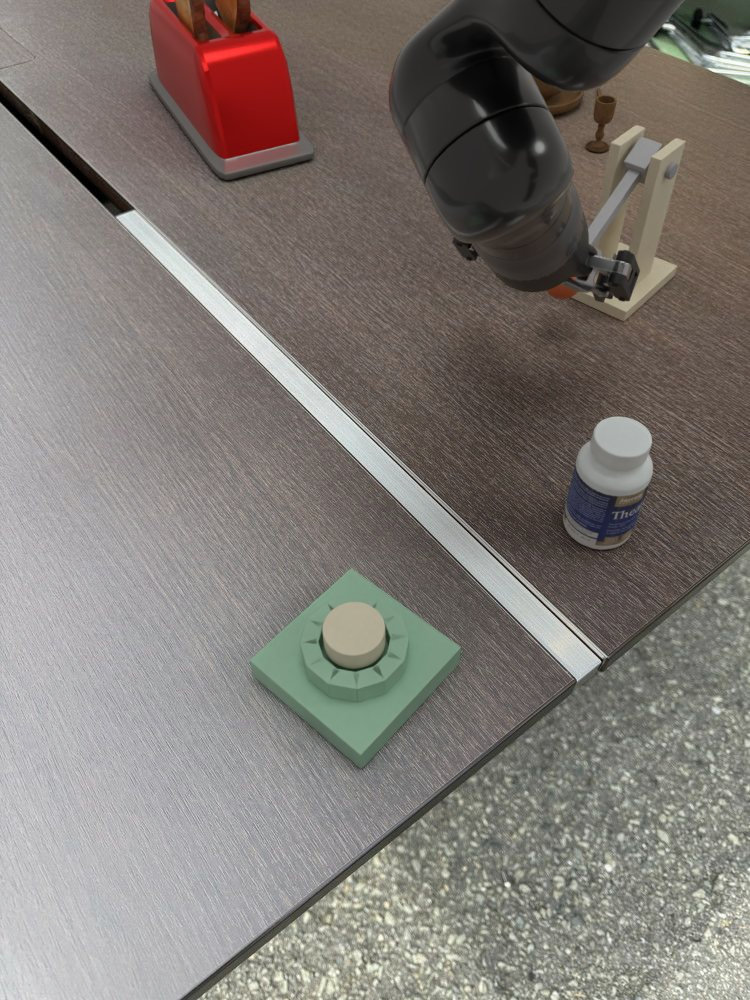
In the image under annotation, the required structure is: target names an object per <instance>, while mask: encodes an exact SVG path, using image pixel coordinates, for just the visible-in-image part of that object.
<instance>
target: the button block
mask: <svg viewBox="0 0 750 1000" xmlns="http://www.w3.org/2000/svg"><path fill="white" fill-rule="evenodd" d="M348 602H361V603H365V604H368V605H370V606H372V607H373V608H375V609H376V610H377V611H378V612H379V613H380V614H381V616H382V618H383V620H384V623H385V648H384V651H383V653H382V654H381V656H380V657H379V658H378V659H377V660H376V661H375V662H374V663H372V664H371V665H369V666H366V667H363V668H358V669H349V668H344V667H342V666H339V665H337V664H336V663H334V662H333V661H332V660H331V659H330V658H329V657H328V655H327V653H326V651H325V648H324V641H323V632H322V627H323V623H324V620H325V618H326V616H327V615H328V614H329V613H330V612H331V611H332V610H333V609H334V608H335V607H337V606H339V605H341V604H344V603H348ZM461 651H462V646H460V645H458V643H456V642H454V641H453V640H452V639H450V638H449V637H448V636H446V635H445V634H444V633H442V632H441V631H440V630H438V629H436V628H435V627H434V626H432V625H431V624H430V623H428V622H427V621H426V620H424V619H423V618H422V617H420V616H419V615H417V614H416V613H414V611H412V610H410V609H409V608H408V607H407V606H404V605H403V604H402V603H401V602H400V601H398V600H396V599H395V598H394V597H392V596H391V594H388V593H387V592H386V591H384V590H383V589H381V588H380V587H379V586H377V585H376V584H374V583H373V582H372V581H371V580H369V579H368V578H367V577H365V576H363V575H362V574H360V573H359V572H358V571H356V570H355V569H354V568H352V567H350V568H349V569H348V570H347V571H346V572H344V574H343V575H342V576H341V577H339V578H338V579H337V580H336V581H335V582H334V583H333V584H332V585H330V586H329V587H328V588H327V589H326V590H325V591H324V592H323V593H322V594H321V595H319V596H318V597H317V598H316V599H315V600H314V601H313V602H312V603H311V604H310V605H308V606H307V607H306V608H305V609H303V611H302V612H301V613H299V614H298V615H297V616H296V617H295V618H294V619H293V620H291V621H290V623H288V624H287V625H286V626H285V627H284V628H283V629H282V630H281V631H280V632H278V633H277V634H276V635H275V636H274V637H273V638H272V639H270V641H268V642H267V643H266V644H265V645H264V646H263V647H262V648H261V649H260V650H259V651H258V652H256V653H255V654H254V655H253V656H252V657H251V658H250V659H249V660H248V662H249V665H250V668H251V669H250V670H251V673H252V676H253V678H255V679H256V680H257V681H258V682H259V683H260V684H262V685H263V686H264V687H265V688H266V689H267V690H268V691H270V692H271V694H273V695H274V696H275V697H276V698H277V699H279V700H280V701H281V702H282V703H284V704H285V705H286V706H287V707H288V708H289V709H291V710H292V711H293V712H294V713H295V714H296V715H297V716H299V717H300V718H301V719H302V720H303V721H304V722H306V723H307V724H308V725H309V726H310V727H311V728H313V729H314V730H315V731H316V732H317V733H318V734H320V735H321V736H322V737H323V738H324V739H325V740H326V741H328V742H329V743H330V744H331V745H332V746H334V747H335V748H336V749H337V750H338V751H339V752H341V754H343V755H344V756H345V757H346V758H347V759H349V760H350V761H351V762H352V763H353V764H355V765H356V766H357V767H358V768H359V769H361V770H363V769H364V768H365V767H366V765H367V764H369V762H370V761H371V760H372V759H373V758H374V757H375V756H376V755H377V754H378V753H379V751H380V750H381V749H382V748H383V747H384V746H385V745H386V744H387V742H389V741H390V739H391V738H392V737H393V736H394V735H395V734H396V733H397V732H398V731H399V729H401V728H402V727H403V726H404V725H405V724H406V722H408V720H409V719H410V718H411V717H412V716H413V714H414V713H415V712H416V711H417V710H418V709H419V708H420V707H421V706H422V705H423V704H424V703H425V702H426V700H428V698H430V696H431V695H432V694H433V693H434V692H435V691H436V690H437V689H438V687H440V685H441V684H442V683H443V682H444V681H445V680H446V679H447V678H448V677H449V676H450V675H451V673H453V671H454V670H455V669H456V668H457V667H458V666H459V665H460V659H461V654H462V653H461Z"/></svg>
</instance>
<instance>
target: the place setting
mask: <svg viewBox="0 0 750 1000" xmlns="http://www.w3.org/2000/svg"><path fill="white" fill-rule="evenodd" d="M532 76H533V75H532ZM533 78H534V80H535V82H536V84H537V86H538V88H539V90H540V92H541V94H542V96H543V98H544V100H545V102H546V104H547V106H548V108H549V110H550V113H551V114H552V116H553V117H554V116H558V115H561V114H564V113H568V112H570V111H571V110H573V109H575V108H576V107H577V106H578V105H579V104H580V103H581V102H582V100H583V99H584V95H585V91H583V92H569V91H564V90H560V89H557V88H554V87H552V86H550V85H548V84H546V83H544V82H542V81H540V80H538V79H537V78H536V77H534V76H533ZM596 89H597V90H596V92H597V97H596V98H595V102H594V107H593V120H594V122H595V123H596V124H597V130H596V132H595V134H594V137H595V140H591V141H588V142H586V144H585V149H586V150H587V151H589V152H591V153H594V154H603V153H606V152H609V150H610V145H609V143H607V142H605V141H603V139H604V137H605V127H606V125H609V123H611V121H612V120H613V119H614V115H615V112H616V107H617V101H618V99H617V98H616V97H615V96H613V95H610V94H602V90H601V88H600V87H598V88H596Z"/></svg>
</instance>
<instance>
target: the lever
mask: <svg viewBox="0 0 750 1000" xmlns="http://www.w3.org/2000/svg"><path fill="white" fill-rule="evenodd" d="M663 147H664V146H663V143H661V142H658V141H655V140H652V139H650V138H646V137H644V136H643V137H640V139H639V140H638V141H637V143H636V144H635V146H634V147H633V149H632V150H631V152H630V153H629V155H628V156H627V157H626V159H625V160H624V167H625V176H624V177H623V179H622V180H621V182H620V183H619V184H618V186H617V187H616V189H615V190H614V192H613V193H612V195H611V196H610V198H609V199H608V200H607V202H606V203H605V205H604V206H603V208H602V209H601V211H600V212H599V214H598V215H597V214H596V215H597V216H596V215H595V218H594V219H593V221H592V222H591V223H590V225H589V226H588V233H589V244H590V245H592V246H595V245H596V243H597V242H598V241H599V239H600V238H601V236H602V235H603V233H604V232H605V230H606V229H607V227H608V226H609V225H610V223H611V222H612V220H613V219H614V217H615V216H616V214H617V213H618V211H619V210H620V208H621V207H622V206H623V204H624V203H625V201H626V200H627V198H628V197H629V195H630V196H631V194H632V193H633V191H634V190H635V189H636V187H637V186H638V184H642V185H644V184H645V180H646V176H647V172H648V167H649V163H650V159H651V156H653V155H654V154H655V153H657V152H658V151H659V150H661V149H662V148H663ZM629 198H630V197H629ZM570 278H572V279H574V280H576V278H577V277H570ZM545 292H546V293H547V294H548V295H550V297H552V298H555V299H559V300H566V299H570V298H571V297H572V296H574V295H575V294H577V292H576V291H573V290H571V289H569V288H567V287H565V286H563V285H561V284H560V285H558V286H556V287H554V288H552V289H549V290H546V291H545Z"/></svg>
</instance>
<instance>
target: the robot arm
mask: <svg viewBox="0 0 750 1000" xmlns="http://www.w3.org/2000/svg"><path fill="white" fill-rule="evenodd" d="M685 1H686V0H451V1H449V2H448V4H447V5H445V6H444V7H443V8H441V10H440V11H439V12H438V13H437V14H436V15H434V16H433V17H432V18H431V19H429V21H427V22H426V23H425V24H424V25H422V27H420V29H419V30H417V31H416V32H415V33H414V34H413V35H412V36H411V37H410V39H408V40H407V41H406V43H405V44H404V45H403V47H402V48H401V50H400V51H399V52H398V55H397V57H396V59H395V61H394V65H393V68H392V71H391V74H390V79H389V85H388V99H387V100H388V107H389V108H388V109H389V113H390V115H391V119H392V122H393V125H394V126H395V129H396V131H397V133H398V135H399V137H400V140H401V142H402V143H403V145H404V147H405V150H406V152H407V154H408V155H409V157H410V160H411V162H412V164H413V166H414V168H415V170H416V172H417V174H418V176H419V178H420V181H421V182H422V184H423V186H424V188H425V191H426V194H427V195H428V197H429V199H430V202H431V204H432V206H433V208H434V210H435V211H436V214H437V215H438V217H439V218H440V221H442V223H443V225H444V226H445V228H446V229H447V230H448V232H449V233H450V234H451V235H452V236H453V238H452V241H451V242H452V245H453V246H454V247H455V249H456V250H457V251H458V253H459V254H460V255H461V256H462V258H464V259H465V260H466V261H468V262H477V259H478V257H479V258H481V259H482V261H483V265H485V266H487V267H488V269H490V271H491V272H493V274H494V275H495V276H496V277H497V279H498V280H499V281H501V283H503V284H504V285H506V286H507V287H509V288H511V289H513V290H516V291H520V292H525V293H540V292H541V293H542V292H547V291H546V290H549V289H552V288H554V287H556V286H558V285H560V284H561V285H563V286H565V287H567V288H569V289H571V290H573V291H576V292H585V293H588V292H592V293H593V296H594V298H595V301H599V302H602V303H604V301H605V298H607V299H613V296H614V297H615V298H617V299H618V300H619V301H623V302H625V301H630V298H631V295H632V293H633V290H634V287H635V284H636V281H637V278H638V276H639V273H640V269H639V266H638V264H637V261H636V258H635V255H634V254H633V253H631V252H630V251H628V250H624V251H623V250H619V251H618V254H617V253H615V254H614V255H613V258H612V259H609V258H605V257H603V253H602V251H601V250H600V249H598V248H596V247H594V246H592V245H590V244H589V233H588V228H589V225H588V222H587V218H586V215H585V212H584V209H583V206H582V203H581V199H580V196H579V193H578V190H577V188H576V186H575V184H574V182H573V178H574V174H575V169H574V163H573V160H572V157H571V154H570V151H569V148H568V145H567V143H566V141H565V138H564V136H563V133H562V132H561V129H560V127H559V126H558V124H557V122H556V120H555V117H554V116H552V114H551V113H550V110H549V108H548V106H547V104H546V102H545V100H544V98H543V96H542V94H541V92H540V90H539V88H538V86H537V84H536V82H535V80H534V78H533V76H534V77H536V78H537V79H538V80H540V81H542V82H544V83H546V84H548V85H550V86H552V87H554V88H557V89H560V90H564V91H569V92H583V91H584V92H589V91H593V90H596V89H597V88H600V87H603V86H604V85H606V84H608V83H609V82H611V81H612V80H613V79H615V78H616V77H617V76H618V75H619V74H620V73H621V72H622V71H624V70H625V68H626V67H627V66H628V65H630V63H631V62H632V61H633V60H634V59H635V58H636V57H637V56H638V54H639V53H640V52H641V51H642V50H643V48H645V46H647V44H648V43H649V42H650V40H651V39H653V37H654V36H655V35H656V34H657V32H659V30H661V28H663V26H664V25H665V23H666V22H667V21H668V20H669V19H671V16H673V15H674V14H675V12H676V11H677V10H678V9H679V8H680V6H681V5H682V4H683V2H685ZM532 75H533V76H532ZM597 271H598V272H599V275H598V278H597V281H596V283H595V281H594V279H595V276H596V273H597ZM570 277H577V278H576V280H574V279H572V278H570Z"/></svg>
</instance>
